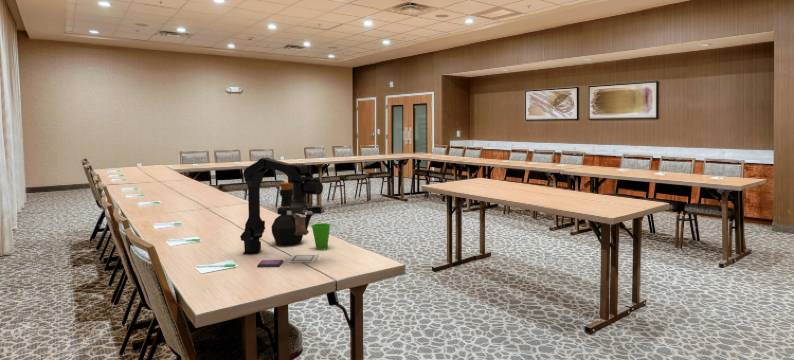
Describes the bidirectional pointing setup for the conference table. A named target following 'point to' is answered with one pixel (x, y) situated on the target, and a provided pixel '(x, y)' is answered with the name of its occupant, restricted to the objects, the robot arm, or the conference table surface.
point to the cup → (321, 234)
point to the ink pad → (270, 263)
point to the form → (302, 258)
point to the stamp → (301, 226)
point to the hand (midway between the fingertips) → (301, 229)
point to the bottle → (285, 221)
